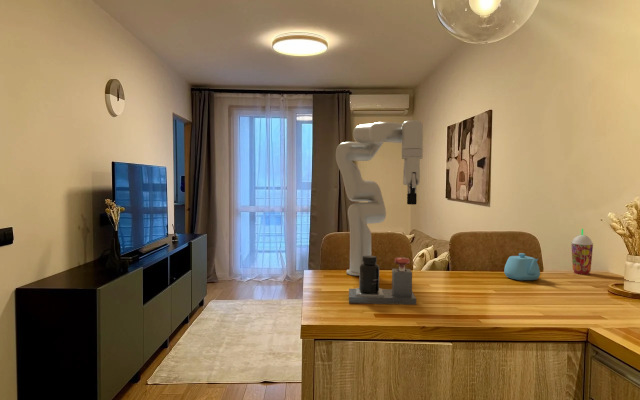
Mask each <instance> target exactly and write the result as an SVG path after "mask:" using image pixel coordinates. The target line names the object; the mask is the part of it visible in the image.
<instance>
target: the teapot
mask: <svg viewBox="0 0 640 400" xmlns="http://www.w3.org/2000/svg"><path fill="white" fill-rule="evenodd" d="M538 260H539V258H535V257H532V256H528V255H526V253H523V252H519V253H518V255H511V256H509V257H508V259H507V260H506V263H505V265H504V271H503V272H504V274H505V276H506V278H509V279H513V280H515V281H534V280H538V279H539V278H540V276H541V271H540V266H539V264H538Z"/></svg>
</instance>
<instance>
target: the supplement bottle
mask: <svg viewBox="0 0 640 400" xmlns="http://www.w3.org/2000/svg"><path fill="white" fill-rule="evenodd" d="M377 260H378V259H377V256H375V255H371V256H363V260H362V262H363V264H361V265H360V270H359V279H358V280H359V281H358V283H359V286H358V288H359V290H360V291H361V292H364V293H376V292H378V291H379V288H380V265H379V264H377V262H378V261H377Z"/></svg>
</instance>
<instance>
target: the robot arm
mask: <svg viewBox="0 0 640 400" xmlns="http://www.w3.org/2000/svg"><path fill="white" fill-rule="evenodd" d="M423 132H424V124H423V122H422V121H421V120H416V119H415V120H414V119H412V120H406V121H403V123H402V122H393V121H392V122H390V121H378V122H373V123H363V124H362V123H361V124H359V125H356V127H355V128H353V131H352V137H353V139H354V140H355V141H345V142H344V141H343V142H341V143H340V144H338V145H337V146H336V150H335V161H336V164H337V166H338V169H339V171H340V173H341V176H342V181H343V185H344V189H345V193H346V197H347V199H348V200H349V201H351V202H354V203H352V204H350V205H349V207H348V209H347V218H348V225H349V269H346V274H347V275H349V276H356V277H357V276H359V270H360V265H361V264H363V262H362V260H363V256H372V232H371V230H370V227H369V226H368V224H369V225H370V224H381V223H383V222H384V221H385V220H386V216H387V211H386V206H385V202H384V197H383V195H382V191H381V187H380V185H379V184H378V183H377V182H375V181H374V180H364V179H363V177H362V173H361V171H360V169H359V167H358V166H357V165H356V164H355V163H354V161H355V162H359V161H360V162H368V161H369V162H370V161H371V160H372V159H373V158H374V157H375V156H376V155H377V153H378V151H380V148H381V147H382V146H383V144H384V143H396V144H401V159H402V160H404V161H403V176H402V177H403V178H402V184H403V186H407V188H406V189H407V193H406V204H407V205H411V206H412V205H413V206H414V205H417V202H418V201H417V197H418V195H417V186H418V185H419V184H420V177H421V167H420V165H421V162H420V159H423V153H424V149H423V147H424V142H423V141H424V133H423Z"/></svg>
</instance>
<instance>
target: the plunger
mask: <svg viewBox="0 0 640 400" xmlns="http://www.w3.org/2000/svg"><path fill="white" fill-rule="evenodd" d="M394 264H396V265H398V269H399V271H405V269H406V265H409V264H410V258H409V257H404V256H402V257H400V256H399V257H394Z"/></svg>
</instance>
